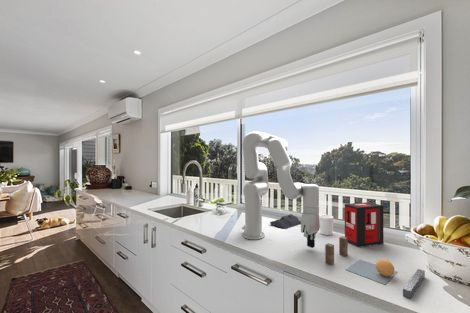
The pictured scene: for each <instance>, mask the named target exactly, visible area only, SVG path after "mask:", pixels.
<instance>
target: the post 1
mask: <svg viewBox="0 0 470 313" xmlns="http://www.w3.org/2000/svg"><path fill="white" fill-rule="evenodd" d="M324 246H325V247H324V248H325V249H324V252H325V254H324V256H325V258H324V259H325V260H324V261H325V264H326V265H329V266H333V265H334V264H335V244H333V243H326V244H325V245H324Z"/></svg>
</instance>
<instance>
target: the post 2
mask: <svg viewBox="0 0 470 313" xmlns="http://www.w3.org/2000/svg"><path fill="white" fill-rule="evenodd" d="M338 240H339V241H338V242H339V245H338V246H339V247H338V248H339V255H340V256H341V257H347V256H348V255H349V254H348V253H349V252H348V248H349V246H348V244H349V243H348V238H347V237H345V236H340V237H339V238H338Z"/></svg>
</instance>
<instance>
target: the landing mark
mask: <svg viewBox="0 0 470 313" xmlns="http://www.w3.org/2000/svg"><path fill="white" fill-rule="evenodd" d="M345 271H348V272H350V273H353V274H355V275H358V276H361V277H363V278H366V279H369V280H371V281H374V282H376V283H380V284H382V285H387V284H388V283H389V281H390V280H392V279H393V277H394V276H395V275H396V274H398V271H397V270H395V271H394V274H393V275H392V276H389V277H386V276H383V275H381V274H380V273H379V272H378V271H377V269H376V263H373V262H370V261H367V260H364V259H361V258H360V259H358V260H357V261H355V262H354V263H353V264H351V265H349V266H348V267H347V268H346V269H345Z"/></svg>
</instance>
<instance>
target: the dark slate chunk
mask: <svg viewBox="0 0 470 313" xmlns="http://www.w3.org/2000/svg"><path fill="white" fill-rule="evenodd" d="M269 224H270V225H272V226H275V227H277V228H280V229H283V230H288V229H291V228H293V227H297V226H299V225H301V220H299V218H298V217H297V216H295V215H293V214H292V213H290V214H288V215H283V216H282V217H281V218H279V219H275V220H273V221H270V222H269Z"/></svg>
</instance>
